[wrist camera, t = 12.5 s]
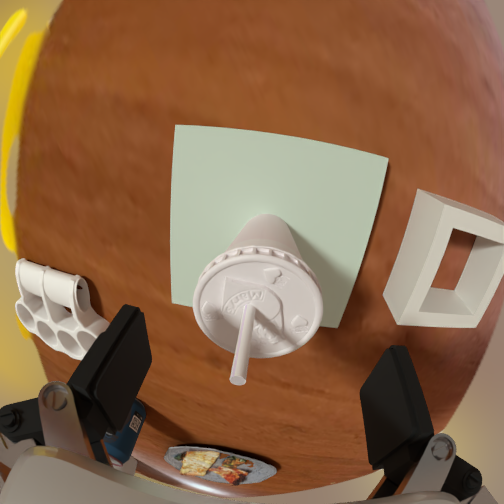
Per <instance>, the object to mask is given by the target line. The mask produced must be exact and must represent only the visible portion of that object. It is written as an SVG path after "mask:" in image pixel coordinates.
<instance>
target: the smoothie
mask: <svg viewBox="0 0 504 504" xmlns="http://www.w3.org/2000/svg"><path fill="white" fill-rule="evenodd" d="M193 311H194V315H195V318H196V321H197V323H198V325H199V326H200V328H201V329H202V331H203V332H204V333H205V334H206V336H207V337H208V338H209V339H211V340H212V341H213V342H214V343H216V344H217V345H218V346H220V347H222V348H223V349H225V350H227V351H230V352H232V353H235V356H234V361H233V366H232V371H231V376H230V382H231V383H233V384H235V385H243V384H245V382H246V376H247V369H248V362H249V357H253V358H271V357H276V356H281V355H284V354H287V353H290V352H292V351H294V350H296V349H298V348H300V347H301V346H303V345H304V344H305V343H307V342H308V341H309V340H310V339H311V338H312V337H313V335H314V334H315V333H316V331H317V330H318V328H319V326H320V323H321V320H322V316H323V299H322V290H321V286H320V284H319V282H318V279H317V277H316V275H315V273H314V272H313V271H312V270H311V269H310V268H309V267H308V265H307V264H306V263H305V262H304V261H303V259H302V257H301V255H300V252H299V250H298V248H297V246H296V243H295V241H294V239H293V237H292V234H291V232H290V230H289V228H288V226H287V224H286V223H285V222H284V221H283V220H282V219H281V218H280V217H278V216H276V215H273V214H260V215H257V216H255V217H253V218H251V219H250V220H249V221H248V222H247V224H246V225H245V226H244V227H243V229H242V230H241V231H240V233H239V234H238V235H237V237H236V238H235V239H234V240H233V242H232V243H231V244H230V246H229V247H228V248H227V250H226V251H225V252H224V253H222V254H220V255H218V256H217V257H216V258H215V259H214V260H213V261H211V262H210V263H209V264H208V265H207V266H206V267H205V269H204V271H203V272H202V274H201V275H200V277H199V280H198V284H197V286H196V288H195V291H194V295H193Z"/></svg>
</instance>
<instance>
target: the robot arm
mask: <svg viewBox="0 0 504 504" xmlns="http://www.w3.org/2000/svg"><path fill="white" fill-rule="evenodd" d="M151 362H152V355H151V350H150V345H149V340H148V335H147V329H146V323H145V317H144V313H143V312H141V311H140V308H138V307H134V306H131V305H127V304H125V305H123V306H122V308H121V309H120V311H119V312H118V313H117V315H116V316H115V318H114V319H113V320H112V322H111V323H110V325H109V326H108V328H107V329H106V331H105V332H102V333H100V334H99V336H98V337H97V338H96V340H95V341H94V343H93V344H92V346H91V347H90V349H89V350H88V352H87V353H86V355H85V356H84V358H83V359H82V361H81V362H80V364H79V365H78V367H77V368H76V370H75V372H74V373H73V375H72V376H71V378H70V379H69V381H68V383H67V384H65V383H63V382H59V381H52V382H50V383H47V384H46V385H45V386H43V388H42V389H41V390H40V393H39V395H38V398H34V399H30V400H26V401H22V402H17V403H13V404H9V405H6V406H3V407H2V408H1V409H0V504H263V503H251V502H242V501H235V500H227V499H221V498H216V497H210V496H205V495H200V494H195V493H191V492H186V491H182V490H178V489H174V488H171V487H167V486H164V485H161V484H157V483H154V482H151V481H148V480H145V479H142V478H139V477H136V476H133V475H131V474H128V473H125V472H122V471H120V470H117V469H115V468H114V467H113V465H112V462H111V460H110V457H109V455H108V452H107V449H106V447H105V444H104V441H103V438H104V436H105V434H106V432H108V433H110V434H113V435H116V432H117V430H118V431H120V430H121V429H122V428H123V426H124V423H125V421H126V419H127V416H128V414H129V412H130V410H131V407H132V405H133V403H134V400H135V398H136V396H137V394H138V392H139V389H140V387H141V385H142V383H143V381H144V378H145V376H146V374H147V372H148V370H149V368H150V365H151ZM360 400H361V406H362V413H363V419H364V426H365V434H366V442H367V450H368V459H369V463H370V464H371V465H372V468H373V470H377V469H384V476H383V477H382V479H381V480H380V482H379V483H378V485H377V486H376V487H375V489H374V490H373V492H372V493H371V494H370V495H369V497H368V498H367V500H364V501H356V502H347V503H337V504H498V503H497V502H496V500H495V499H494V498H493V496H492V495H491V494H490V492H489V491H488V490H487V488H486V487H485V486H482V487H481V485H482V476H481V473H480V471H479V470H478V469H477V468H475V467H473V466H472V465H470V464H469V463H467V462H466V461H464V460H463V459H461V458H460V457H458V456H457V455H456V445H455V442H454V440H453V439H452V438H451V437H450V436H449V435H447V434H444V433H439V434H436V435H435V436H434V429H433V425H432V422H431V418H430V415H429V411H428V408H427V405H426V401H425V398H424V395H423V392H422V389H421V386H420V383H419V380H418V377H417V374H416V371H415V369H414V366H413V363H412V360H411V358H410V355H409V352H408V350H407V348H406V346H397V345H392V346H390V348H389V349H386V350H385V352H384V353H383V355H382V357H381V358H380V360H379V362H378V363H377V365H376V366H375V368H374V369H373V371H372V372H371V374H370V375H369V377H368V378H367V380H366V381H365V383H364V384H363V386H362V387H361V389H360Z"/></svg>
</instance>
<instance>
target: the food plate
mask: <svg viewBox="0 0 504 504" xmlns="http://www.w3.org/2000/svg"><path fill="white" fill-rule="evenodd" d="M221 453H224V454H229V455H230V456H228V457H226V458H224V459H220V456H221V455H220V454H221ZM242 458H243V459H242ZM164 459H165V460H166V461H167V462H168V463H169V464H170V465H172V466H174V467H175V468H176V469H178V470H180V474H182V475H190V476H195V477H199V478H202V479H205V480H209V481H214V482H220V483H229V484H231V485H232V486H233V485H240V484H245V483H249V484H250V483H254V482H261V481H263V480H265V479H268V478H269V477H271V476H273V475H275V474H276V472H277V469H276V468H275V467H274V466H272V465H267V464H266V463H264V462H261V461H258V460H256V459H252V458H250V457H249V458H248V457H247V456H246V457H244V456H240V455H236V454H232V453H228V452H223V451H219V450H216V449H211V448H206V447H205V448H203V447H188V446H185V447H183V446H180V447H170V448H169V449H168V450H167V452H166V454H165V456H164ZM246 459H247V460H250V461H252V462H253V463H255V464H253V465H254V466H255V465H257V466H255V467H252V468H249V467H246V466H250V465H245V464H244V463H245V462H246ZM215 466H217V467H215ZM254 468H256V469H254ZM249 469H250V470H249ZM253 469H254V470H253Z"/></svg>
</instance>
